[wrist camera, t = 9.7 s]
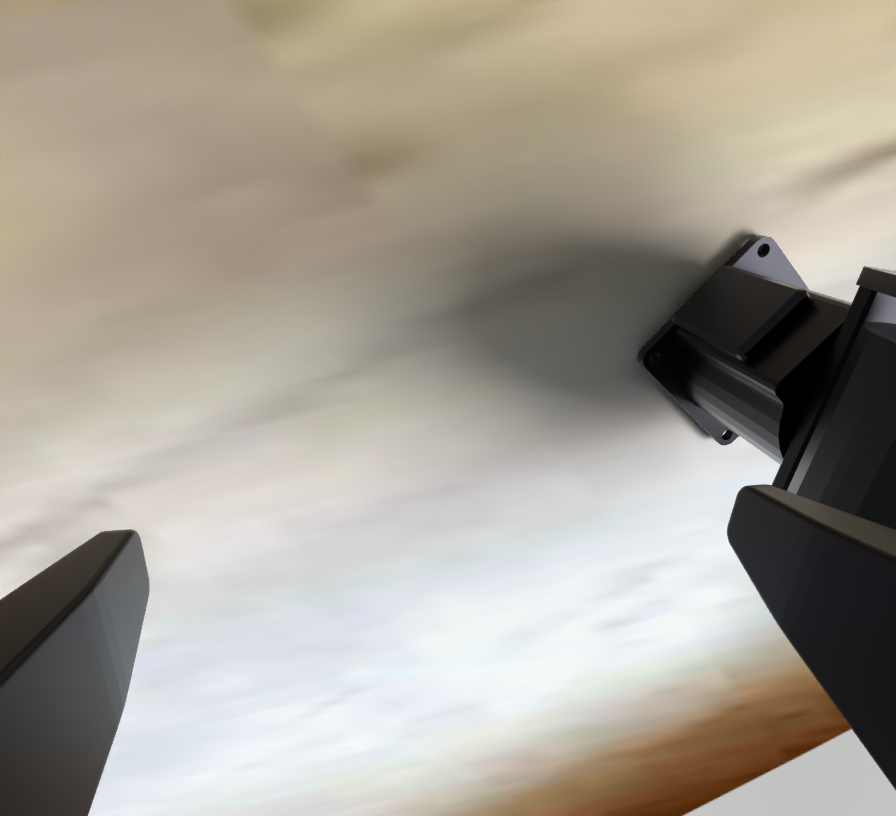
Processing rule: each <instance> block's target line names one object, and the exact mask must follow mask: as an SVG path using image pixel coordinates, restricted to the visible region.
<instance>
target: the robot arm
mask: <svg viewBox="0 0 896 816" xmlns="http://www.w3.org/2000/svg"><path fill="white" fill-rule="evenodd" d="M761 245H762V246H763V248H762V251H761V252H760V254H757V252H758V248H759V247H760V246H761ZM856 285H859V289H858V291H857V293H856V295H855V298H854V300H853V302H852V303H850V302H847V301H844V300H841V299H837V298H834V297H831V296H827V295H824V294H821V293H818V292H814V291H811V290H809V289H808V287H807V286H806V285H805V283H804V282H803V280H802V279H801V278H800V276H799V275H798V273H797V272H796V270H795V269H794V268H793V266H792V265H791V263H790V262H789V261H788V259H787V258H786V256H785V255H784V253H783V252H782V251H781V249H780V248H779V246H778V245H777V244H776V242H775V241H774V240H773V239H772V238H771V237H767V236H761V235H758V236H754V237H753V238H752V239H750V240H749V241H748V242H747V243H746V244H745V245H744V246H743V247H742V248H741V249H740V250H739V251H738V252H737V253H736V254H735V255H734V256H733V257H732V258H731V259H730V260H729V261H728V262H727V263H726V264H725V265H724V266H723V267H721V268H719V269H718V271H717V272H716V273H715V274H714V275H713V276H712V277H711V278H710V279H709V280H708V281H707V282H706V283H705V284H704V285H703V286H702V287H701V288H700V289H699V290H698V291H697V292H696V293H695V294H694V295H693V296H692V297H691V298H690V299H689V300H688V301H687V302H686V303H685V304H684V305H683V306H682V307H681V308H680V309H679V310H678V311H677V312H676V313H675V314H674V317H673V318H672V319H671V320H670V321H669V322H668V323H667V324H666V325H665V326H664V327H663V328H662V329H661V330H660V331H659V332H658V333H657V334H656V335H655V336H654V337H653V338H652V339H651V340H650V341H649V342H648V343H647V344H646V345H645V346H644V347H643V348H642V349H641V351H640V352H639V355H638V362H639V363H640V365H641V366H642V367H643V368H644V369H645V370H646V371H647V372H648V373H649V374H650V375H651V376H652V377H653V378H654V379H655V380H656V381H657V382H658V383H659V384H660V385H661V386H662V387H663V388H664V390H665V391H666V392H667V393H668V394H669V395H670V396H671V397H672V398H673V399H674V400H675V401H676V402H677V403H678V404H679V405H680V406H681V407H682V408H683V409H684V410H685V411H686V412H687V413H688V414H689V415H690V416H691V417H692V418H693V419H694V420H695V421H696V422H697V423H698V424H699V425H700V426H701V427H702V428H703V429H704V430H705V431H706V432H707V433H708V434H709V435H710V436H711V438H712V439H714V440H715V441H716V442H718V443H719V444H721V445H727V444H730V443H731V442H733V441H734V440H735V439H736V438H737V437H738V436H741V437H742V438H743V439H745V440H746V441H748V442H749V443H750V444H752V445H753V446H755V447H756V448H758V449H759V450H760V451H762V452H763V453H765V454H766V455H767V456H769V457H770V458H772V459H773V460H775V461H776V462H777V463H779V464H780V468H779V470H778V472H777V474H776V477H775V479H774V481H773V483H772V486H771V485H751V486H745V487H743V488H742V489H741V490H740V491H739V492H738V494H737V497H736V500H735V504H734V507H733V510H732V513H731V517H730V520H729V523H728V527H727V536H728V540H729V543H730V545H731V547H732V548H733V550H734V552H735V553H736V555H737V557H738V558H739V560H740V562H741V564H742V565H743V567H744V569H745V570H746V572H747V574H748V575H749V577H750V579H751V581H752V582H753V584H754V586H755V587H756V589H757V591H758V592H759V594H760V596H761V598H762V599H763V601H764V603H765V604H766V606H767V608H768V609H769V611H770V613H771V614H772V616H773V618H774V619H775V621H776V622H777V624H778V626H779V627H780V629H781V630H782V631H783V633H784V634H785V636H786V637H787V639H788V640H789V642H790V643H791V644H792V646H793V647H794V649H795V650H796V651H797V653H798V654H799V656H800V657H801V658H802V660H803V661H804V663H805V664H806V665H807V667H808V668H809V670H810V671H811V672H812V674H813V675H814V677H815V678H816V679H817V681H818V682H819V684H820V685H821V686H822V688H823V689H824V691H825V692H826V693H827V695H828V696H829V698H830V699H831V700H832V702H833V703H834V705H835V706H836V707H837V709H838V710H839V712H840V713H841V714H842V716H843V717H844V719H845V720H846V721H847V723H848V724H849V726H850V727H851V728H852V730H853V731H854V733H855V734H856V735H857V737H858V738H859V739H860V741H861V742H862V744H863V745H864V747H865V748H866V749H867V751H868V752H869V754H870V755H871V756H872V758H873V759H874V761H875V762H876V763H877V765H878V766H879V768H880V769H881V770H882V772H883V773H884V775H885V776H886V777H887V779H888V780H889V782H890V783H891V784H892V785H893V787H894V789H895V790H896V271H891V270H885V269H878V268H872V267H866V266H864V267H863V270H862V272H861V274H860V277H859V279H858V281H857V283H856ZM653 353H656V355H655V358H654V359H653V360H652V361H650V362H649V357H650V356H651V355H652V354H653ZM726 430H727V431H726ZM725 431H726V433H725V434H724V435H722V434H723V433H724V432H725ZM148 596H149V577H148V572H147V567H146V562H145V557H144V553H143V548H142V543H141V539H140V536H139V534H138V533H137V532H136V531H135V530H131V529H130V530H116V531H104V532H101V533H99V534H97V535H96V536H94V537H93V538H91V539H90V540H88V541H87V542H85V543H84V544H82V545H81V546H79V547H78V548H76V549H75V550H73V551H72V552H70V553H69V554H67V555H66V556H64V557H63V558H61V559H60V560H58V561H57V562H55V563H54V564H53V565H51V566H50V567H48V568H47V569H45V570H44V571H42V572H41V573H39V574H38V575H36V576H35V577H33V578H32V579H30V580H29V581H27V582H26V583H24V584H23V585H21V586H20V587H18V588H17V589H15V590H14V591H12V592H11V593H9V594H8V595H6V596H5V597H4V598H2V599H1V600H0V816H88V814H89V811H90V808H91V805H92V802H93V799H94V796H95V793H96V790H97V787H98V784H99V781H100V779H101V776H102V773H103V770H104V767H105V764H106V761H107V758H108V755H109V752H110V749H111V746H112V743H113V740H114V737H115V735H116V732H117V729H118V726H119V722H120V719H121V716H122V713H123V709H124V706H125V702H126V698H127V694H128V689H129V685H130V680H131V676H132V671H133V666H134V662H135V657H136V653H137V648H138V643H139V639H140V634H141V629H142V625H143V620H144V615H145V611H146V606H147V602H148Z"/></svg>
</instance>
